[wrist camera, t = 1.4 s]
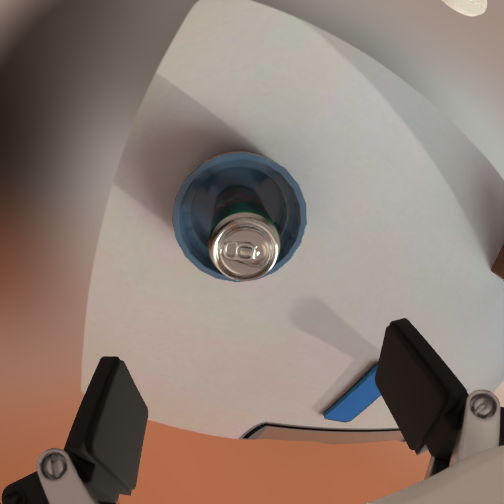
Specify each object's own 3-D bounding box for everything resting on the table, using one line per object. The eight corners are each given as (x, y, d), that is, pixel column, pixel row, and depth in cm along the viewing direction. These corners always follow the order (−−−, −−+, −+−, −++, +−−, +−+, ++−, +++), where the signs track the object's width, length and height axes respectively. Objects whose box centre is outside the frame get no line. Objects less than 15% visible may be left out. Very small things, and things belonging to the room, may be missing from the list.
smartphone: (321, 418, 45) (379, 365, 40) (320, 414, 46) (377, 361, 41) (348, 422, 47) (403, 374, 42) (347, 419, 48) (401, 370, 43)
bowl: (173, 159, 28) (163, 163, 23) (290, 146, 28) (303, 148, 24) (191, 266, 33) (185, 287, 28) (296, 254, 33) (307, 273, 29)
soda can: (257, 235, 31) (274, 290, 20) (210, 228, 31) (202, 280, 20) (266, 190, 30) (291, 222, 18) (218, 182, 29) (213, 209, 18)
